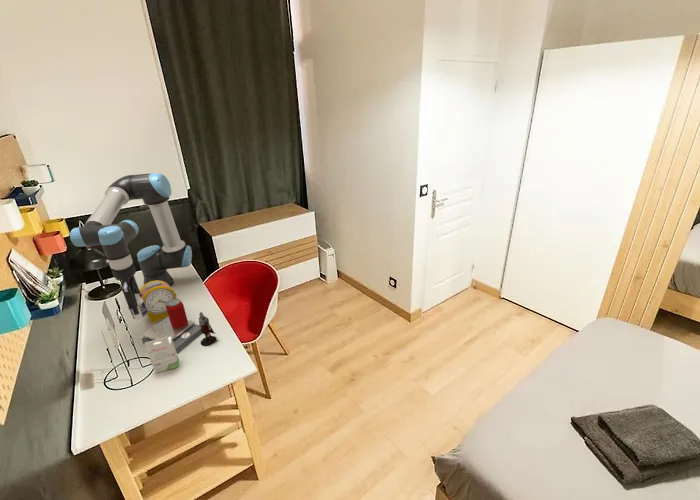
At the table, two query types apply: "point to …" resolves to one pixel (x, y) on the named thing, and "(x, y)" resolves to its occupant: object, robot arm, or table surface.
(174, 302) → the beverage can
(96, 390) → the table surface
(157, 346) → the ink box
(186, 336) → the scale
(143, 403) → the table surface
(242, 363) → the table surface
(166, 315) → the alarm clock
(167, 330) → the silver square platform
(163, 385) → the table surface
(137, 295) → the pill bottle
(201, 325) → the figurine
